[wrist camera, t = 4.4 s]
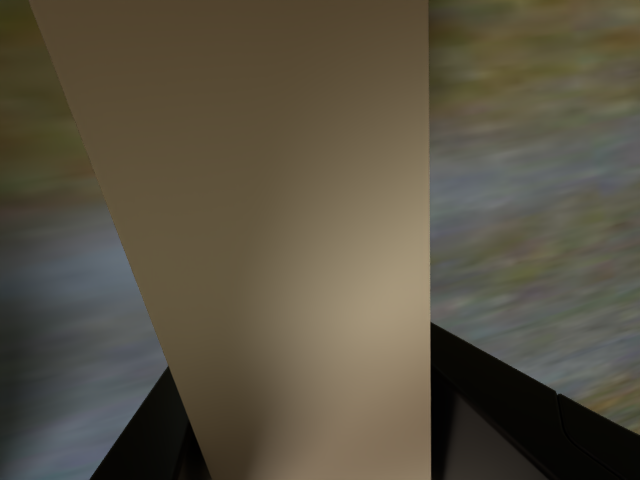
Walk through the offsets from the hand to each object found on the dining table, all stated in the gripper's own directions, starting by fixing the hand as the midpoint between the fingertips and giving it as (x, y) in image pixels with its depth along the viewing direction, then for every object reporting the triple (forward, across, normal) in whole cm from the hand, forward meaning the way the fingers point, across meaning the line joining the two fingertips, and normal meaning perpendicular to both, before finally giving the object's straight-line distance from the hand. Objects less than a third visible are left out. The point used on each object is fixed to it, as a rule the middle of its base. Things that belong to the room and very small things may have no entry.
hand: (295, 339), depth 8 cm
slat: (+1, 0, 0) cm, 1 cm away
